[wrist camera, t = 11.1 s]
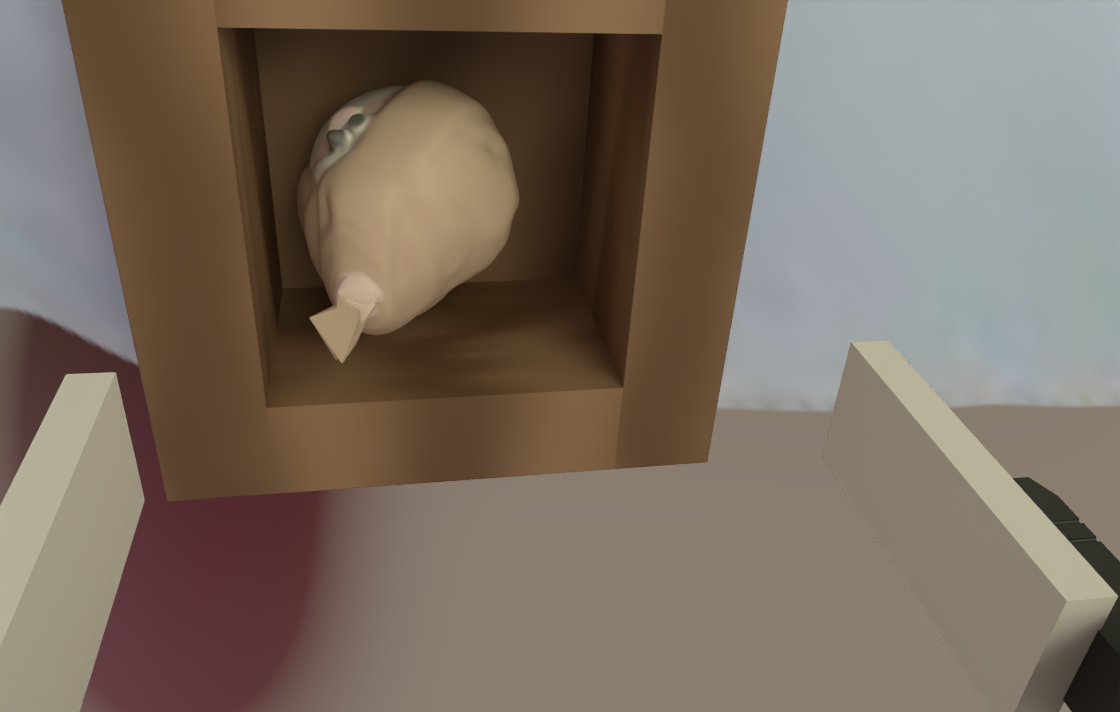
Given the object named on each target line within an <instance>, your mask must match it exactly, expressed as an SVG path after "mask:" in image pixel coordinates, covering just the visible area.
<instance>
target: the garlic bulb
mask: <svg viewBox="0 0 1120 712" xmlns="http://www.w3.org/2000/svg"><path fill="white" fill-rule="evenodd" d="M518 205H519V191H518V186H517V182H516V177H515V174H514V170H513V165H512V160H511V156H510V152H509V149H508V147H507V144H506V142H505V141H504V139H503V137H502V136H501V135H500V133H499V132H498V130H497V128H496V126H495V124H494V122H493V120H492V118H491V116H490V114H489V113H488V111H487V110H486V109H485V108H484V106H482V105H481V104H480V103H479V102H478V101H476V100H475V99H473V98H471V97H470V96H468V95H466V94H465V93H463V92H461V91H459V90H457V89H455V88H453V87H451V86H449V85H446V84H443V83H441V82H438V81H434V80H420V81H416V82H413V83H411V84H409V85H408V86H390V87H384V88H379V89H375V90H372V91H369V92H366V93H364V94H362V95H359V96H357V97H355V98H354V99H352V100H350V101H349V102H347V103H346V104H344V105H343V106H341V107H340V108H339V109H338V110H337V111H336V112H334V113H333V114H332V115H331V116H330V118H329V119H328V120H327V121H326V122H325V124H324V125H323V127H322V128H321V130H320V132H319V133H318V135H317V138H316V140H315V143H314V145H313V149H312V153H311V158H310V163H309V164H308V165H307V167H306V168H305V169H304V171H303V173H302V174H301V177H300V179H299V183H298V188H297V208H298V215H299V220H300V223H301V227H302V229H303V231H304V234H305V239H306V242H307V246H308V249H309V254H310V257H311V260H312V263H313V265H314V267H315V269H316V271H317V272H318V274H319V276H320V278H321V279H322V281H323V282H324V285H325V288H326V291H327V294H328V296H329V298H330V301H331V303H332V305H333V306H332V307H330V308H328V309H326V310H324V311H322V312H320V313H318V314H316V315H314V316H312V317H310V320H311V321H312V323H313V324H314V326H315V328H316V329H317V331H318V332H319V334H320V336H321V337H322V339H323V340H324V342H325V344H326V345H327V347H328V348H329V350H330V352H331V353H332V355H333V356H334V358H335V360H337V359H339V360H340V362H341V363H343V362H344V360H345V359H346V358H347V356H348V355H349V354H350V352H351V351H352V350H353V348H354V347H355V345H356V344H357V342H358V340H359V337H360V335H361V332H362V333H365V334H370V335H383V334H387V333H390V332H393V331H395V330H397V329H399V328H401V327H402V326H404V325H406V324H407V323H409V322H410V321H411V320H412V319H414V318H415V317H416V316H418V315H420V314H422V313H424V312H425V311H427V310H429V309H430V308H432V307H433V306H434V305H436V304H437V303H438V302H439V301H440V300H442V299H443V298H444V297H445V296H446V295H447V293H448V292H449V291H450V290H452V289H453V288H455V287H456V286H458V285H459V284H461V283H463V282H465V281H467V280H468V279H470V278H471V277H473V276H474V275H476V274H477V273H479V272H481V271H482V270H484V269H485V268H486V267H488V266H489V265H490V264H491V263H492V261H493V260H494V259H495V258H496V256H497V255H498V254H499V252H500V251H501V250H502V248H503V247H504V246H505V244H506V242H507V240H508V237H509V232H510V229H511V224H512V220H513V217H514V214H515V212H516V210H517V208H518Z"/></svg>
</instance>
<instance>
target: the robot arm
mask: <svg viewBox="0 0 1120 712" xmlns="http://www.w3.org/2000/svg"><path fill="white" fill-rule="evenodd" d="M822 458H823V460H824V461H825V462H826V464H827V466H828V467H829V469H830V470H831V472H832V473H833V475H834V477H835V478H836V480H837V481H838V483H839V484H840V486H841V487H842V489H843V490H844V492H845V493H846V495H847V496H848V498H849V499H850V501H851V503H852V504H853V506H854V507H855V509H856V510H857V512H858V513H859V515H860V516H861V518H862V519H863V521H864V523H865V524H866V525H867V527H868V529H869V530H870V532H871V533H872V535H873V536H874V538H875V539H876V541H877V542H878V544H879V546H880V547H881V549H882V550H883V552H884V553H885V555H886V556H887V558H888V559H889V561H890V562H891V564H892V566H893V567H894V569H895V570H896V572H897V573H898V575H899V576H900V578H901V579H902V581H903V582H904V584H905V585H906V587H907V588H908V590H909V592H910V593H911V595H912V596H913V598H914V599H915V601H916V602H917V604H918V605H919V607H920V608H921V610H922V612H923V613H924V615H925V616H926V617H927V619H928V621H929V622H930V623H931V625H932V627H933V628H934V630H935V631H936V633H937V635H938V636H939V638H940V639H941V641H942V642H943V644H944V645H945V647H946V648H947V650H948V651H949V653H950V655H951V656H952V658H953V659H954V661H955V662H956V664H957V665H958V667H959V668H960V670H961V671H962V673H963V674H964V676H965V677H966V679H967V681H968V682H969V684H970V685H971V687H972V688H973V690H974V691H975V692H976V694H977V696H978V697H979V699H980V700H981V702H982V704H983V705H984V706H985V708H986V710H987V711H988V712H1059V711H1060V709H1061V707H1062V705H1063V703H1064V702H1065V703H1066V704H1067V706H1068V707H1069V709H1070V710H1071V711H1072V712H1120V562H1119V560H1118V559H1116V557H1115V556H1114V555H1113V554H1112V553H1111V552H1110V551H1109V550H1108V549H1107V548H1106V547H1105V546H1104V545H1103V544H1102V543H1101V542H1097V540H1096V536H1095V535H1094V534H1093V533H1092V532H1091V531H1090V530H1089V529H1088V528H1087V527H1086V525H1085V524H1084V523H1080V522H1079V518H1078V517H1077V516H1076V515H1075V514H1074V513H1073V512H1072V511H1071V510H1070V509H1069V507H1068V506H1067V505H1066V504H1065V503H1064V502H1063V501H1062V500H1061V499H1060V498H1059V497H1058V496H1057V495H1055V494H1054V493H1052V492H1051V491H1049V490H1047V489H1046V488H1044V487H1043V486H1041V485H1040V484H1038V483H1037V482H1035V481H1033V480H1032V479H1030V478H1029V477H1025V478H1011V476H1010V475H1009V474H1008V473H1007V472H1006V471H1005V470H1004V469H1003V468H1002V466H1001V465H1000V464H999V463H998V462H997V461H996V460H995V459H994V458H993V456H992V455H991V454H990V453H989V452H988V451H987V450H986V448H985V447H983V445H982V444H981V443H980V442H979V441H978V440H977V438H976V437H975V436H974V435H973V434H972V433H971V432H970V431H969V430H968V429H967V427H966V426H965V425H964V424H963V423H962V422H961V421H960V420H959V419H958V417H957V416H956V415H955V414H954V413H953V412H952V411H951V410H950V408H949V407H948V406H947V405H946V404H945V403H944V402H943V401H942V400H941V398H940V397H939V396H938V395H937V394H936V393H935V392H934V391H933V390H932V388H931V387H930V386H929V385H928V384H927V383H926V382H925V381H924V380H923V378H922V377H921V376H920V375H919V374H918V373H917V372H916V371H915V370H914V368H913V367H912V366H911V365H910V364H909V363H908V362H907V361H906V360H905V358H904V357H903V356H902V355H901V354H900V353H899V352H898V351H897V350H896V348H895V347H894V346H893V345H892V344H891V343H890V342H889V341H888V340H886V341H862V342H851V344H850V348H849V352H848V356H847V360H846V364H845V368H844V372H843V376H842V380H841V384H840V388H839V391H838V395H837V399H836V403H835V407H834V411H833V415H832V419H831V423H830V427H829V431H828V435H827V439H826V443H825V447H824V450H823V454H822ZM144 501H145V499H144V495H143V490H142V486H141V481H140V477H139V473H138V469H137V464H136V459H135V455H134V451H133V446H132V442H131V438H130V433H129V429H128V424H127V420H126V416H125V411H124V407H123V402H122V398H121V393H120V389H119V384H118V380H117V376H116V372H110V373H109V372H108V373H85V374H66V376H65V378H64V380H63V382H62V384H61V386H60V388H59V390H58V392H57V394H56V396H55V398H54V400H53V402H52V404H51V406H50V408H49V410H48V412H47V414H46V416H45V418H44V420H43V422H42V424H41V426H40V428H39V430H38V432H37V434H36V436H35V438H34V440H33V442H32V444H31V446H30V448H29V450H28V452H27V454H26V456H25V458H24V460H23V462H22V464H21V466H20V468H19V470H18V472H17V474H16V476H15V478H14V480H13V482H12V484H11V486H10V488H9V490H8V492H7V494H6V496H5V498H4V500H3V502H2V504H1V506H0V712H80V709H81V706H82V702H83V699H84V696H85V693H86V689H87V686H88V683H89V680H90V676H91V673H92V670H93V667H94V663H95V660H96V657H97V653H98V650H99V647H100V644H101V641H102V637H103V634H104V631H105V627H106V624H107V621H108V618H109V614H110V611H111V608H112V605H113V601H114V598H115V595H116V592H117V588H118V585H119V582H120V579H121V576H122V572H123V569H124V565H125V563H126V559H127V556H128V553H129V549H130V546H131V543H132V540H133V537H134V533H135V530H136V527H137V523H138V520H139V517H140V514H141V510H142V507H143V504H144Z"/></svg>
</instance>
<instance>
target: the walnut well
mask: <svg viewBox="0 0 1120 712" xmlns="http://www.w3.org/2000/svg"><path fill="white" fill-rule="evenodd" d="M787 2H788V0H62V4H63V9H64V14H65V19H66V23H67V28H68V33H69V38H70V42H71V47H72V52H73V57H74V61H75V66H76V71H77V75H78V80H79V85H80V90H81V94H82V99H83V104H84V109H85V113H86V118H87V123H88V128H89V132H90V137H91V142H92V147H93V151H94V156H95V161H96V166H97V170H98V175H99V180H100V185H101V189H102V194H103V199H104V204H105V208H106V213H107V218H108V223H109V227H110V232H111V237H112V242H113V246H114V251H115V256H116V261H117V265H118V270H119V275H120V279H121V284H122V289H123V294H124V298H125V303H126V308H127V313H128V317H129V322H130V327H131V332H132V336H133V341H134V346H135V351H136V355H137V360H138V365H139V369H140V374H141V379H142V384H143V388H144V393H145V398H146V403H147V408H148V412H149V417H150V422H151V426H152V431H153V436H154V441H155V446H156V450H157V455H158V460H159V464H160V469H161V474H162V478H163V483H164V488H165V493H166V498H167V501H181V500H196V499H210V498H224V497H237V496H250V495H265V494H277V493H292V492H306V491H319V490H332V489H347V488H360V487H374V486H387V485H402V484H415V483H429V482H442V481H456V480H469V479H484V478H496V477H510V476H525V475H536V474H537V475H538V474H552V473H565V472H578V471H592V470H606V469H619V468H634V467H648V466H661V465H675V464H688V463H702V462H707V460H708V454H709V449H710V443H711V437H712V431H713V426H714V420H715V414H716V409H717V403H718V397H719V392H720V386H721V380H722V374H723V369H724V363H725V357H726V352H727V346H728V340H729V334H730V329H731V323H732V317H733V311H734V306H735V300H736V294H737V289H738V283H739V277H740V271H741V266H742V260H743V254H744V248H745V243H746V237H747V231H748V226H749V220H750V214H751V208H752V203H753V197H754V191H755V186H756V180H757V174H758V168H759V163H760V157H761V151H762V145H763V140H764V134H765V128H766V123H767V117H768V111H769V105H770V100H771V94H772V88H773V82H774V77H775V71H776V65H777V60H778V54H779V48H780V42H781V37H782V31H783V25H784V19H785V14H786V8H787ZM420 80H434V81H438V82H441V83H443V84H446V85H449V86H451V87H453V88H455V89H457V90H459V91H461V92H463V93H465V94H466V95H468V96H470V97H471V98H473V99H475V100H476V101H478V102H479V103H480V104H481V105H482V106H484V108H485V109H486V110H487V111H488V113H489V114H490V116H491V118H492V120H493V122H494V124H495V126H496V128H497V130H498V132H499V133H500V135H501V136H502V137H503V139H504V141H505V142H506V144H507V147H508V149H509V152H510V156H511V160H512V165H513V170H514V174H515V177H516V182H517V186H518V191H519V205H518V208H517V210H516V212H515V214H514V217H513V220H512V224H511V229H510V232H509V237H508V240H507V242H506V244H505V246H504V247H503V248H502V250H501V251H500V252H499V254H498V255H497V256H496V258H495V259H494V260H493V261H492V263H491V264H490V265H489V266H488V267H486V268H485V269H484V270H482V271H481V272H479V273H477V274H476V275H474V276H473V277H471V278H470V279H468V280H467V281H465V282H463V283H461V284H459V285H458V286H456V287H455V288H453V289H452V290H450V291H449V292H448V293H447V295H446V296H445V297H444V298H443V299H442V300H440V301H439V302H438V303H437V304H436V305H434V306H433V307H432V308H430V309H429V310H427V311H425V312H424V313H422V314H420V315H418V316H416V317H415V318H414V319H412V320H411V321H410V322H409V323H407V324H406V325H404V326H402V327H401V328H399V329H397V330H395V331H393V332H390V333H387V334H383V335H370V334H365V333H362V332H361V335H360V337H359V340H358V342H357V344H356V345H355V347H354V348H353V350H352V351H351V352H350V354H349V355H348V356H347V358H346V359H345V360H344V362H343V363H341V362H340V360H339V359H337V360H335V358H334V356H333V355H332V353H331V352H330V350H329V348H328V347H327V345H326V344H325V342H324V340H323V339H322V337H321V336H320V334H319V332H318V331H317V329H316V328H315V326H314V324H313V323H312V321H311V320H310V317H312V316H314V315H316V314H318V313H320V312H322V311H324V310H326V309H328V308H330V307H332V306H333V305H332V303H331V301H330V298H329V296H328V294H327V291H326V288H325V285H324V282H323V281H322V279H321V278H320V276H319V274H318V272H317V271H316V269H315V267H314V265H313V263H312V260H311V257H310V254H309V249H308V246H307V242H306V239H305V234H304V231H303V229H302V227H301V223H300V220H299V215H298V208H297V188H298V183H299V179H300V177H301V174H302V173H303V171H304V169H305V168H306V167H307V165H308V164H309V163H310V158H311V153H312V149H313V145H314V143H315V140H316V138H317V135H318V133H319V132H320V130H321V128H322V127H323V125H324V124H325V122H326V121H327V120H328V119H329V118H330V116H331V115H332V114H333V113H334V112H336V111H337V110H338V109H339V108H340V107H341V106H343V105H344V104H346V103H347V102H349V101H350V100H352V99H354V98H355V97H357V96H359V95H362V94H364V93H366V92H369V91H372V90H375V89H379V88H384V87H390V86H408V85H409V84H411V83H413V82H416V81H420Z"/></svg>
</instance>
